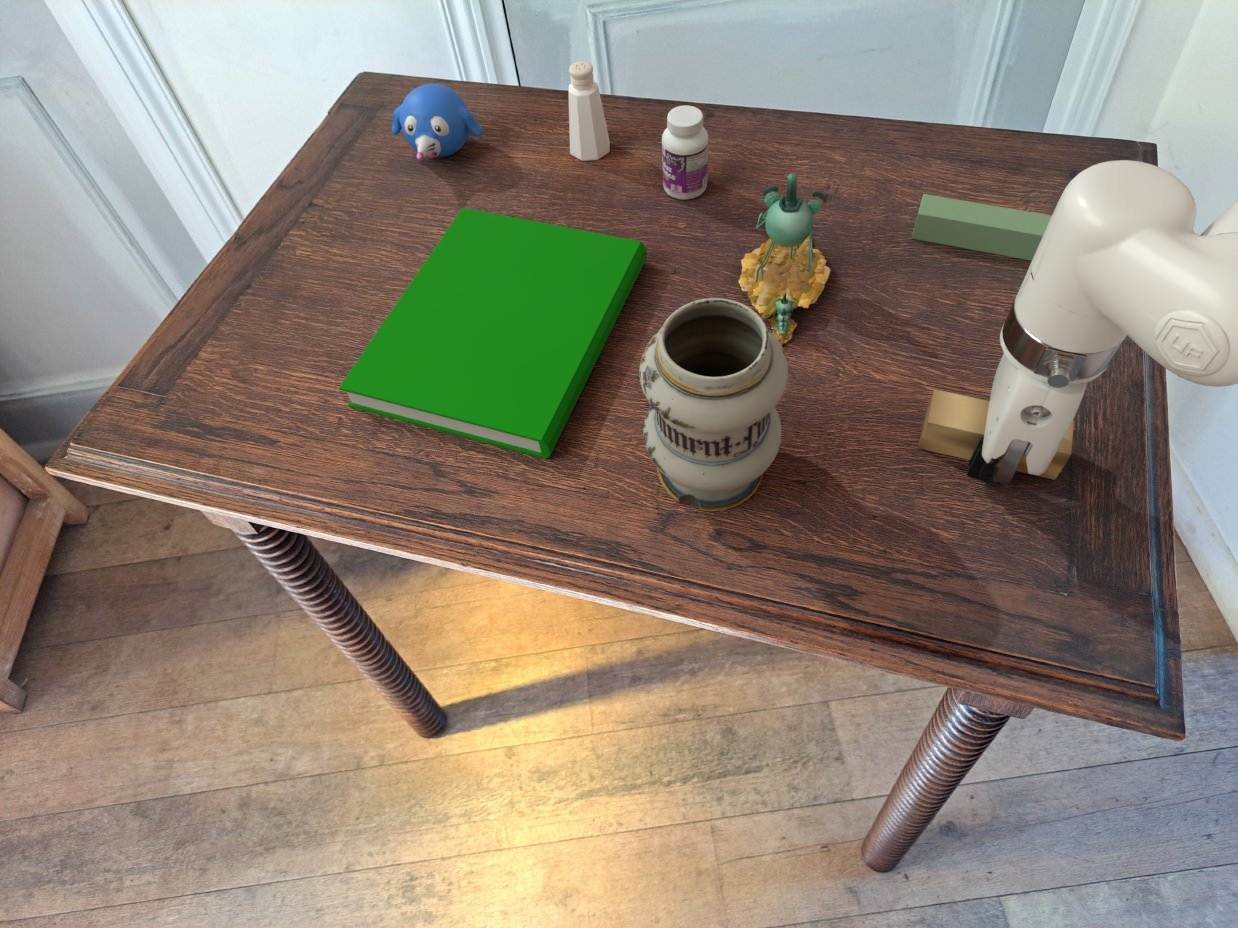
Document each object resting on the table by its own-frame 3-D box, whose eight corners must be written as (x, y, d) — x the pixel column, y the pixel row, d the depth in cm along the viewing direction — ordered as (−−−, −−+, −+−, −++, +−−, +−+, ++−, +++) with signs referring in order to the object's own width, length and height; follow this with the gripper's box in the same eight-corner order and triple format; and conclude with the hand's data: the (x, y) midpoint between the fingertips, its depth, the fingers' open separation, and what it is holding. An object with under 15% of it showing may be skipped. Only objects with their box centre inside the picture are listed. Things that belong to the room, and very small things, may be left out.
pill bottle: (653, 185, 103) (651, 114, 95) (688, 167, 105) (688, 95, 97) (681, 208, 101) (680, 136, 93) (716, 189, 102) (718, 116, 94)
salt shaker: (577, 167, 106) (567, 85, 97) (562, 143, 109) (550, 61, 100) (617, 154, 107) (611, 71, 98) (601, 131, 110) (593, 49, 101)
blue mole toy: (382, 187, 107) (360, 127, 100) (407, 129, 113) (389, 70, 107) (474, 190, 105) (459, 129, 98) (495, 131, 112) (482, 71, 105)
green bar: (1066, 245, 93) (1078, 220, 90) (1064, 267, 91) (1076, 241, 88) (916, 218, 97) (923, 193, 94) (911, 239, 95) (917, 213, 92)
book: (348, 406, 87) (338, 387, 84) (468, 228, 101) (462, 207, 99) (551, 460, 81) (546, 441, 79) (646, 263, 96) (645, 242, 93)
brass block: (1058, 445, 78) (1074, 419, 75) (1055, 480, 76) (1071, 454, 73) (924, 415, 81) (934, 388, 78) (917, 448, 79) (927, 422, 76)
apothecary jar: (627, 502, 78) (613, 374, 63) (669, 403, 84) (664, 266, 69) (756, 538, 75) (772, 412, 60) (789, 433, 81) (812, 295, 66)
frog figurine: (711, 334, 89) (717, 210, 78) (758, 238, 100) (770, 117, 89) (801, 355, 86) (822, 229, 75) (840, 254, 97) (863, 131, 86)
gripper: (1113, 425, 56) (1021, 556, 71) (1122, 271, 63) (1038, 419, 79) (993, 398, 58) (929, 532, 73) (1016, 251, 65) (954, 400, 80)
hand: (985, 473), depth 76 cm, fingers closed
